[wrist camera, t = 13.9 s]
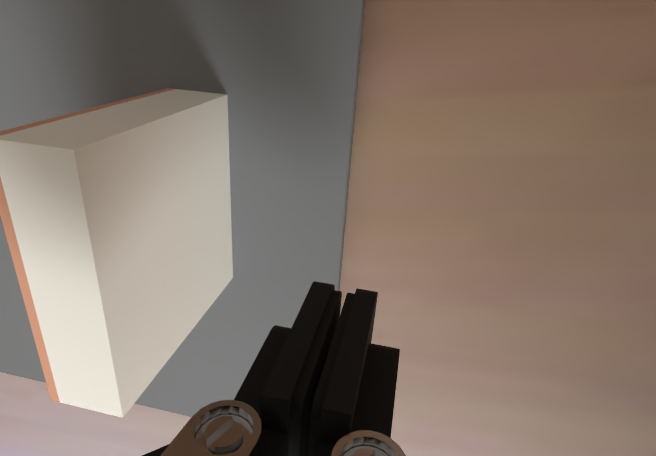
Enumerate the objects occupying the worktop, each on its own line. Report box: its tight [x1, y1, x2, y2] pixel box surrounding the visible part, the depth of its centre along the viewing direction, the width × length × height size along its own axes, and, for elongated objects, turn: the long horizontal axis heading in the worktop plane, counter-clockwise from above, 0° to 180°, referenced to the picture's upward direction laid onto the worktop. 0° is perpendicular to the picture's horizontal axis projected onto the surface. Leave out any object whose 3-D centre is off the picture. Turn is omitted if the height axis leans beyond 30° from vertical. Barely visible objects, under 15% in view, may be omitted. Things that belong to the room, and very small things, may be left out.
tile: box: [0, 88, 233, 418], centre depth 15 cm, size 2×8×8 cm, turn 176°
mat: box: [0, 0, 365, 417], centre depth 20 cm, size 20×26×1 cm
